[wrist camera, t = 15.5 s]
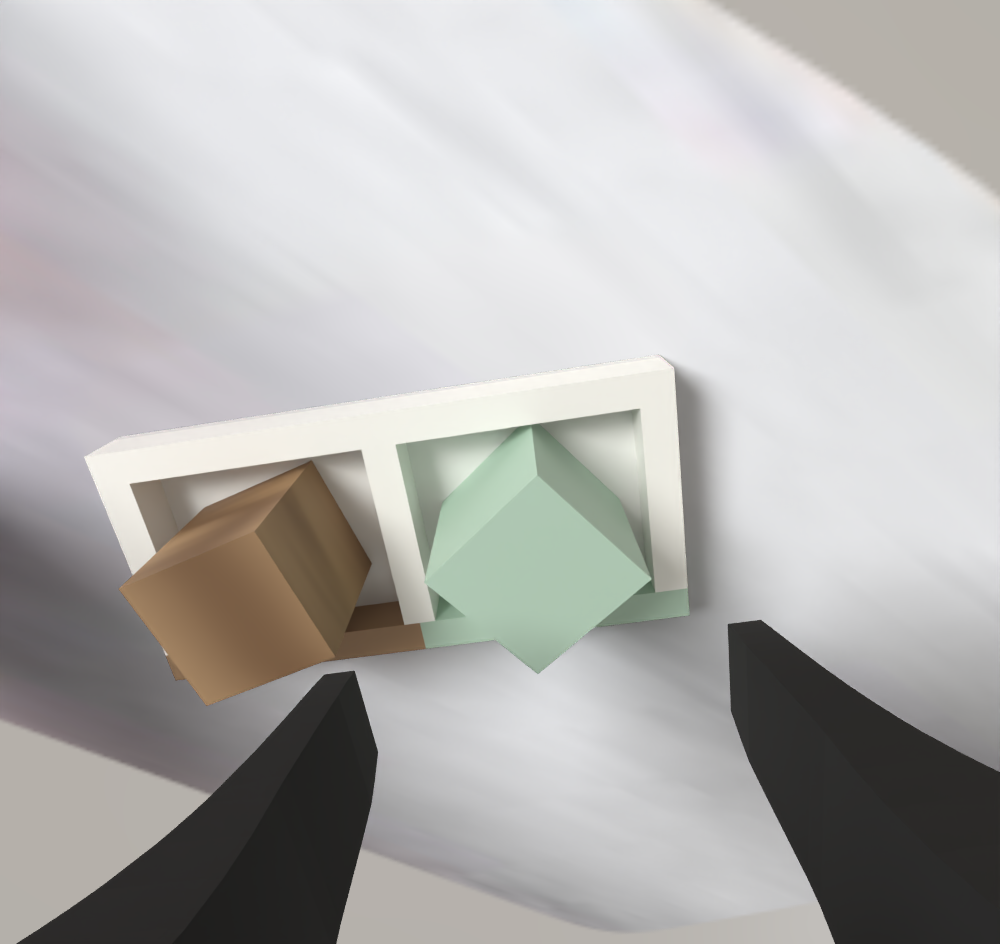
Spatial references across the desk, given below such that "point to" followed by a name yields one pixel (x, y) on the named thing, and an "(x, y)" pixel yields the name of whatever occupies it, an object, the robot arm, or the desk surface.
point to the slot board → (419, 482)
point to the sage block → (534, 548)
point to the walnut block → (254, 585)
